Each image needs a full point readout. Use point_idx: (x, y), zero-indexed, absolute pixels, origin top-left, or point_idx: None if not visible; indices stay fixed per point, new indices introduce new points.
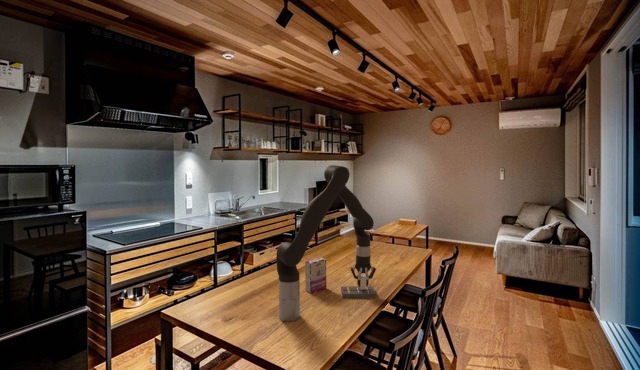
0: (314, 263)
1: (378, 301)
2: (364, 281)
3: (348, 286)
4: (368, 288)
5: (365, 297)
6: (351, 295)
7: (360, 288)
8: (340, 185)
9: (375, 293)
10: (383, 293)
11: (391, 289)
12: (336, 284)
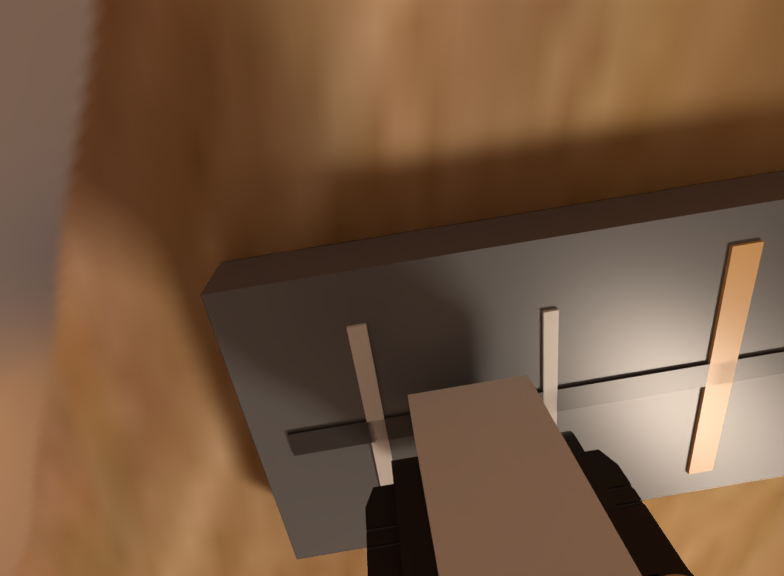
0: None
1: (146, 98)
2: (492, 546)
3: (678, 492)
4: (360, 482)
5: (411, 233)
6: (690, 203)
7: (533, 387)
8: None
9: (212, 311)
10: (118, 433)
11: (29, 561)
12: (755, 557)
